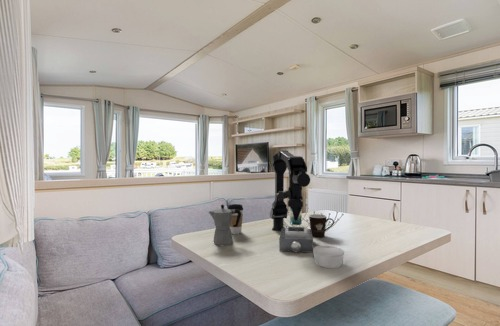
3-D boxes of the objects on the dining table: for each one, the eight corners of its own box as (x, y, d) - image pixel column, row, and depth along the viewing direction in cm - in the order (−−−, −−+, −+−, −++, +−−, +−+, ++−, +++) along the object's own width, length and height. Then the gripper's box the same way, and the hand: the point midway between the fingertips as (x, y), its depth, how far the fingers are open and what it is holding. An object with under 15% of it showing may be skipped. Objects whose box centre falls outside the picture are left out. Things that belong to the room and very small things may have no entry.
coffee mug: (307, 237, 134) (306, 217, 134) (311, 232, 142) (311, 213, 142) (331, 240, 129) (330, 219, 129) (334, 235, 137) (334, 215, 136)
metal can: (290, 222, 125) (290, 203, 124) (301, 222, 124) (301, 203, 124) (289, 224, 120) (289, 205, 119) (301, 225, 119) (301, 205, 118)
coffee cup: (225, 234, 142) (224, 205, 142) (232, 229, 150) (231, 202, 149) (239, 235, 139) (239, 206, 138) (246, 231, 147) (245, 203, 146)
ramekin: (335, 257, 108) (335, 244, 107) (350, 268, 96) (350, 253, 96) (308, 259, 106) (308, 246, 105) (320, 271, 95) (320, 256, 94)
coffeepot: (207, 246, 123) (207, 206, 122) (210, 239, 132) (209, 203, 132) (241, 245, 123) (241, 206, 123) (241, 239, 133) (241, 202, 132)
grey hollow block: (281, 239, 131) (281, 224, 131) (311, 240, 128) (311, 225, 128) (279, 252, 113) (278, 234, 113) (313, 254, 111) (313, 236, 111)
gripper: (278, 182, 132) (279, 214, 132) (275, 186, 114) (276, 223, 114) (302, 182, 130) (302, 214, 130) (302, 186, 112) (303, 224, 112)
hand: (295, 219), depth 122 cm, fingers closed on metal can, 5 cm apart
